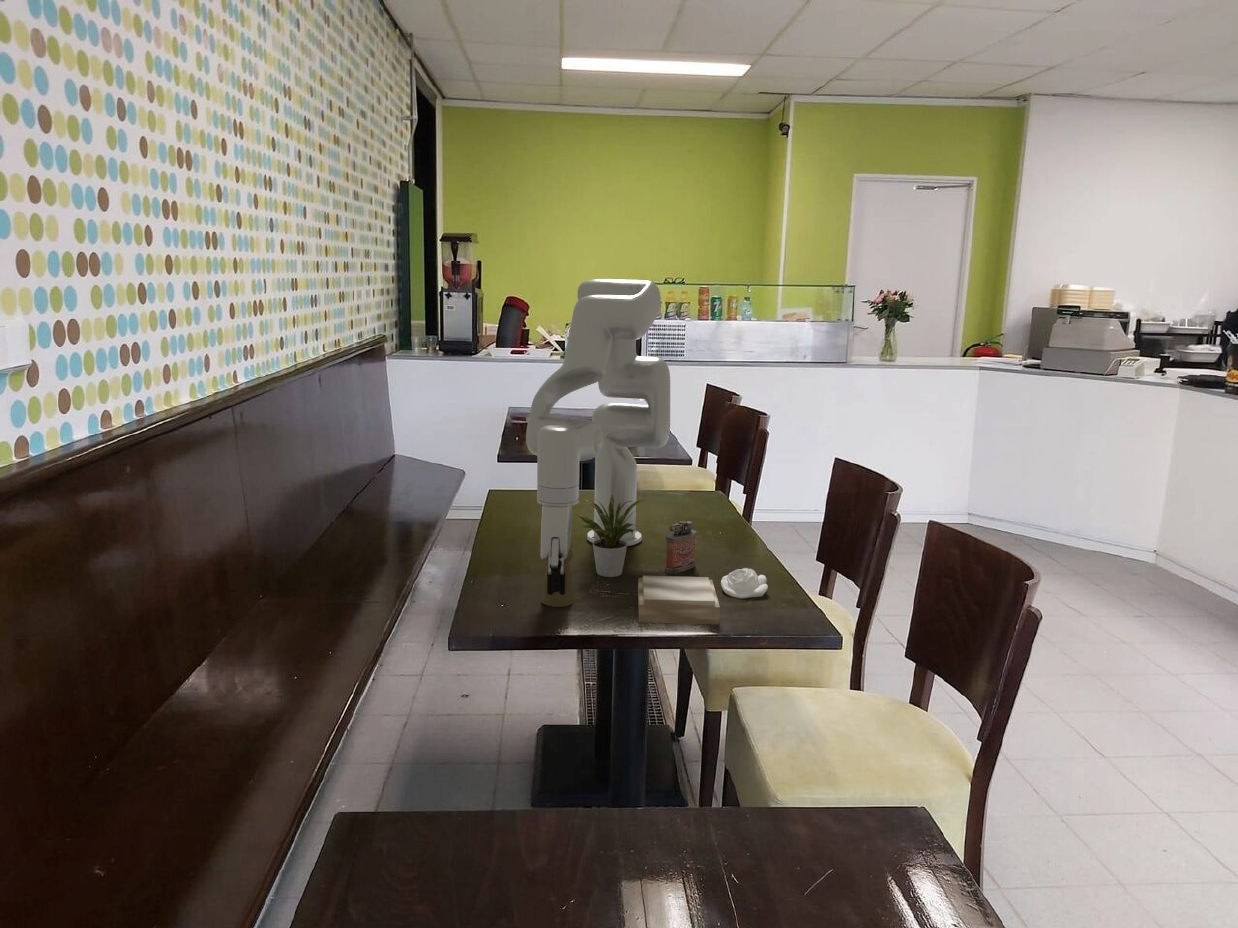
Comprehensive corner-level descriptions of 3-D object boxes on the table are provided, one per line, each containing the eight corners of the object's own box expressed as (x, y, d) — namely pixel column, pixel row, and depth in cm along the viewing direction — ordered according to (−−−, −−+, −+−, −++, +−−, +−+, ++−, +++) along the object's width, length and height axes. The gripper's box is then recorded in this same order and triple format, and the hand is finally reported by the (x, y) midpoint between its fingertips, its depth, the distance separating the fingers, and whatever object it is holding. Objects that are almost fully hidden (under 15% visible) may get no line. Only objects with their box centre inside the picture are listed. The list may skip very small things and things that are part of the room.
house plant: (622, 556, 187) (624, 483, 183) (660, 574, 175) (663, 497, 172) (565, 566, 179) (566, 490, 175) (601, 587, 168) (603, 505, 164)
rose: (780, 569, 168) (753, 581, 160) (779, 591, 168) (751, 604, 161) (737, 558, 174) (709, 569, 167) (736, 579, 175) (708, 591, 168)
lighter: (686, 562, 184) (688, 516, 182) (698, 566, 182) (700, 520, 180) (661, 570, 178) (662, 523, 176) (673, 574, 176) (675, 527, 174)
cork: (567, 608, 156) (568, 550, 154) (536, 604, 158) (537, 546, 156) (578, 597, 162) (579, 541, 160) (548, 593, 163) (549, 537, 161)
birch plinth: (638, 593, 164) (638, 574, 164) (711, 595, 164) (712, 575, 164) (638, 622, 151) (639, 600, 150) (718, 624, 151) (720, 602, 150)
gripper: (541, 483, 163) (540, 575, 167) (532, 504, 147) (531, 606, 151) (581, 484, 163) (579, 576, 167) (576, 505, 147) (574, 607, 151)
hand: (556, 589), depth 159 cm, fingers closed on cork, 3 cm apart
